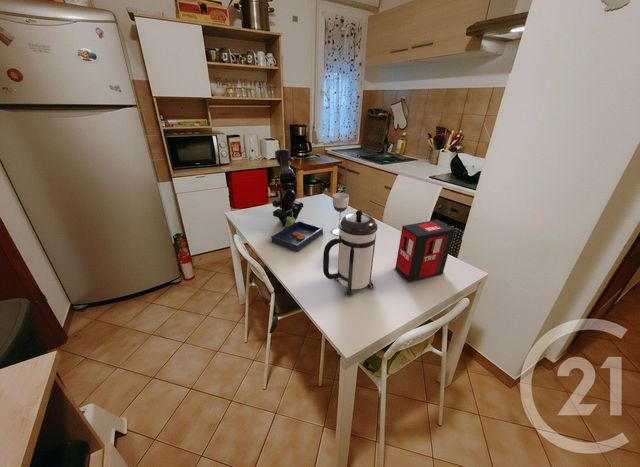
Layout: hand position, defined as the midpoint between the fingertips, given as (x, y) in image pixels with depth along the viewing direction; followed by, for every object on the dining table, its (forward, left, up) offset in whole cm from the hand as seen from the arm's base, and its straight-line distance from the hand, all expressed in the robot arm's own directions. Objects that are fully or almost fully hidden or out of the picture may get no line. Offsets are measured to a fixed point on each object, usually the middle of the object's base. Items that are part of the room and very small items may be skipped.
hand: (289, 223), depth 142 cm
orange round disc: (+9, +15, -1) cm, 17 cm away
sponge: (0, 0, -2) cm, 2 cm away
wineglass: (-9, +26, -2) cm, 28 cm away
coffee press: (+26, +51, -2) cm, 57 cm away
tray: (+8, +12, -2) cm, 14 cm away
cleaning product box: (+3, +70, -2) cm, 70 cm away
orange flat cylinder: (+7, +11, -1) cm, 13 cm away
